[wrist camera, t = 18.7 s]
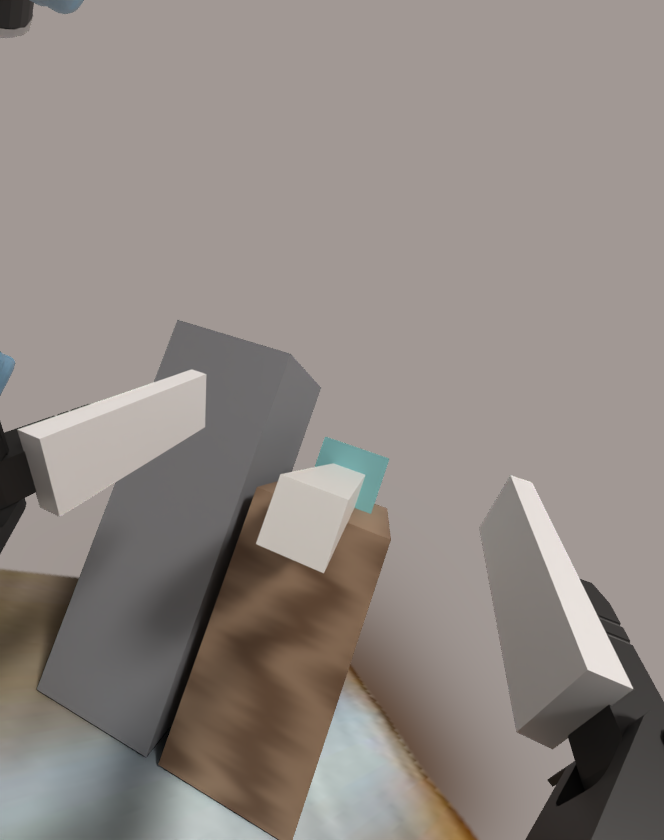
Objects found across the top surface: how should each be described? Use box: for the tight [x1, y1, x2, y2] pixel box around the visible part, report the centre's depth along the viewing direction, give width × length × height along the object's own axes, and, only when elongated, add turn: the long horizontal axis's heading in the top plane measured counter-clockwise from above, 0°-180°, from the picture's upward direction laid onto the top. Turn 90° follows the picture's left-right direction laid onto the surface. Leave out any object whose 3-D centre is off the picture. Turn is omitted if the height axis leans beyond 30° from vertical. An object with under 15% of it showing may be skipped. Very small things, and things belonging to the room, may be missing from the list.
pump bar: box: [256, 437, 389, 573], centre depth 23 cm, size 6×21×5 cm, turn 170°
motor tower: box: [37, 320, 321, 757], centre depth 29 cm, size 10×12×30 cm
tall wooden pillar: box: [158, 481, 391, 840], centre depth 27 cm, size 10×12×20 cm
